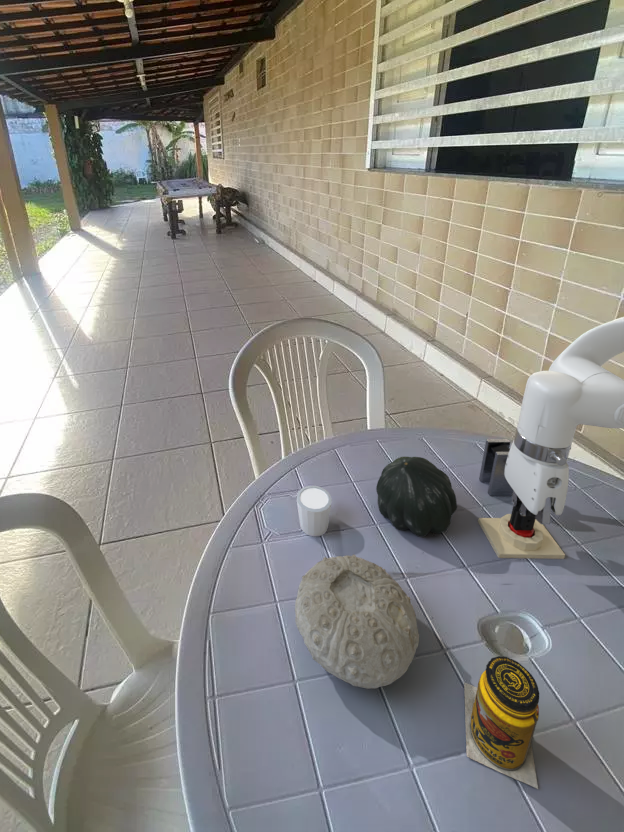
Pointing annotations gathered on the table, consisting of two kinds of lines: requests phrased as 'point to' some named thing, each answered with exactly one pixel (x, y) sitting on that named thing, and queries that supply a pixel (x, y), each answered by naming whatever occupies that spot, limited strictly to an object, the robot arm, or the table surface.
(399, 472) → the squash
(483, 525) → the control block
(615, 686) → the table surface
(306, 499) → the white cylinder
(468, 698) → the condiment
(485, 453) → the grey upright double plates
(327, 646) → the decorative shell
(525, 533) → the button
